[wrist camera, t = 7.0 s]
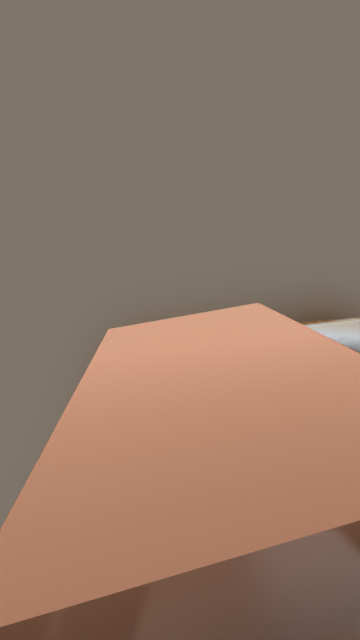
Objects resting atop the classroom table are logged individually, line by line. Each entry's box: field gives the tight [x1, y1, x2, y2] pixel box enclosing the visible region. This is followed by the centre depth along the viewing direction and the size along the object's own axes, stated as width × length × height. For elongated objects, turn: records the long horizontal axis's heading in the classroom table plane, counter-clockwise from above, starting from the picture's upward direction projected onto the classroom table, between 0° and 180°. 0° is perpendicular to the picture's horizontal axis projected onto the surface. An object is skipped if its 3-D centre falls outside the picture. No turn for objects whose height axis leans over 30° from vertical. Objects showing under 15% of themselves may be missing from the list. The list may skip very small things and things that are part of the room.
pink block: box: [0, 303, 360, 640], centre depth 9 cm, size 10×10×11 cm
